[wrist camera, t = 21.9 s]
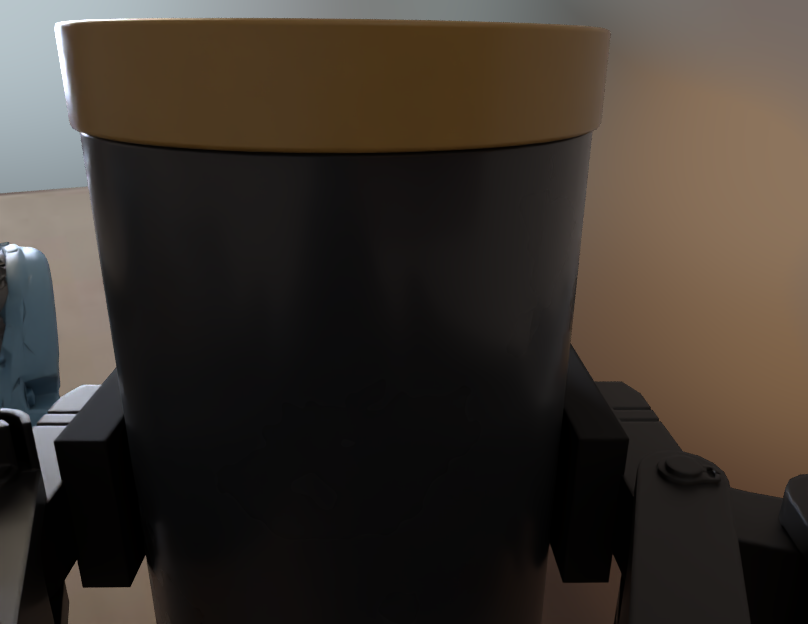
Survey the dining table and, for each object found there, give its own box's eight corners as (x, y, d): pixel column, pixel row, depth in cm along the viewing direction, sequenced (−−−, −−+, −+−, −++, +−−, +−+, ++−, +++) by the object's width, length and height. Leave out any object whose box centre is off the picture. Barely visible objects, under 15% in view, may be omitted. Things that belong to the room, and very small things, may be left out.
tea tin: (255, 1164, 11) (91, 9, 5) (163, 776, 17) (36, 27, 11) (590, 909, 14) (740, 29, 8) (416, 659, 20) (429, 35, 14)
